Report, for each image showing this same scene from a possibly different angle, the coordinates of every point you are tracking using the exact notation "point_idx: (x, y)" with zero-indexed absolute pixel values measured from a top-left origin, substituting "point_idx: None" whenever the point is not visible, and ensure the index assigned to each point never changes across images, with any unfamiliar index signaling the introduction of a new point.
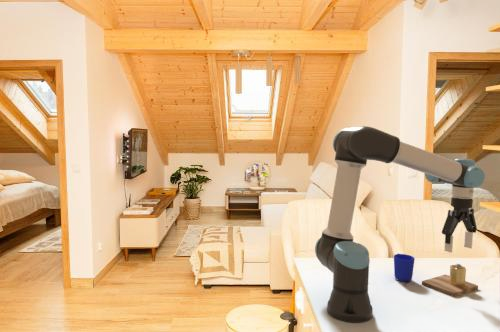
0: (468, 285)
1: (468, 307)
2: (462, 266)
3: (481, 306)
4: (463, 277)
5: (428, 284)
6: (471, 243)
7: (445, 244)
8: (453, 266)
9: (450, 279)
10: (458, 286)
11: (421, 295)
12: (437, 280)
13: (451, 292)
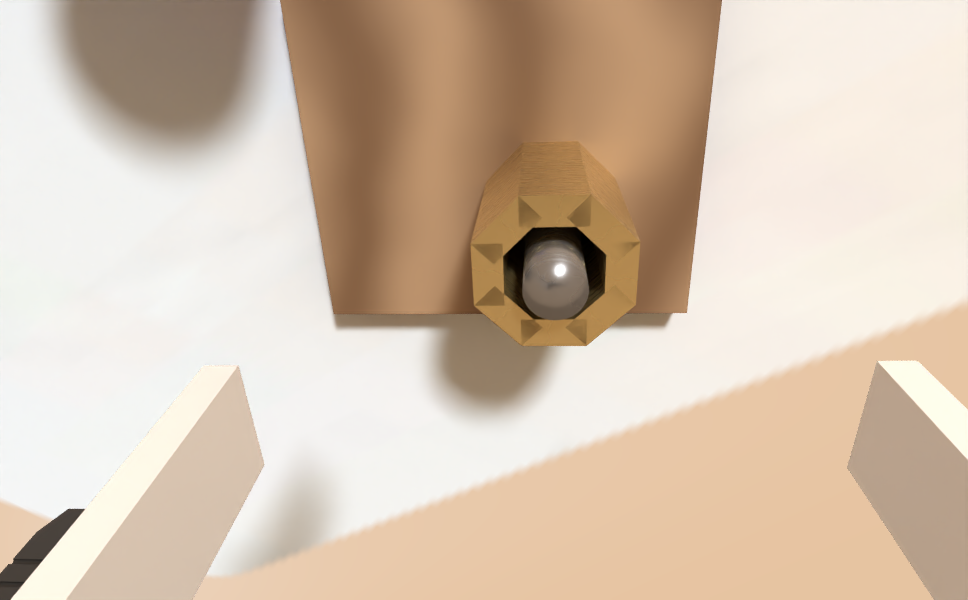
0: None
1: (286, 427)
2: (630, 286)
3: (380, 454)
4: None
5: (294, 60)
6: (913, 542)
7: (142, 455)
8: (538, 225)
9: (496, 179)
10: None
11: (104, 159)
12: (453, 47)
13: (331, 287)
